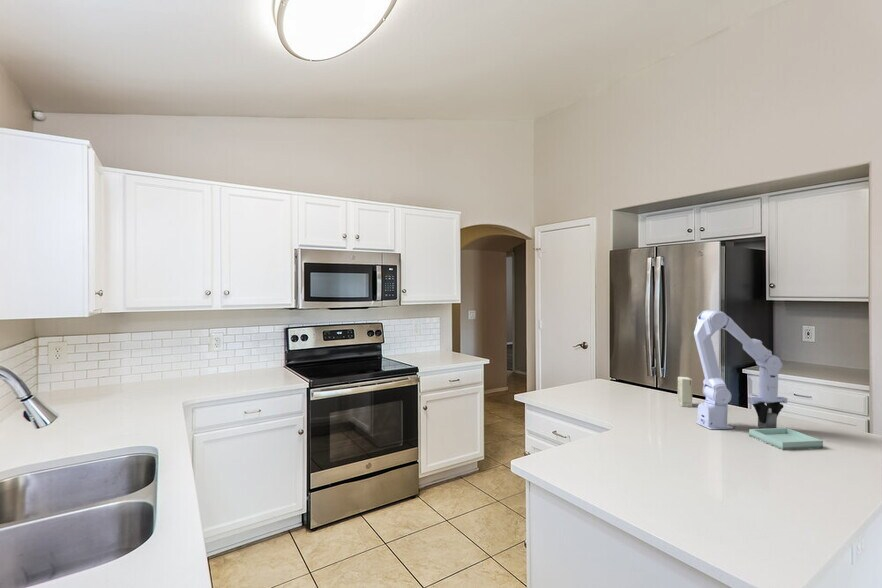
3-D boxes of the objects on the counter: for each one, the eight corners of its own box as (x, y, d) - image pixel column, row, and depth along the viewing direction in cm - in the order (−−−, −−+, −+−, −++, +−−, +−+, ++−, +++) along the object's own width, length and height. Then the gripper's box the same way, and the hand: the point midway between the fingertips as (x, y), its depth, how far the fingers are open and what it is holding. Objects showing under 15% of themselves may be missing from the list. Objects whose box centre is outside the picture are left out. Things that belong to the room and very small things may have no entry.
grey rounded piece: (770, 431, 160) (771, 410, 159) (755, 425, 166) (755, 405, 166) (778, 430, 160) (779, 410, 160) (763, 425, 167) (764, 405, 166)
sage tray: (782, 450, 142) (782, 442, 142) (749, 436, 155) (749, 429, 155) (822, 448, 144) (822, 440, 144) (786, 434, 157) (786, 427, 157)
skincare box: (692, 407, 191) (693, 379, 191) (681, 406, 192) (682, 379, 192) (687, 403, 197) (687, 376, 197) (676, 402, 198) (677, 376, 198)
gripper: (775, 383, 168) (774, 418, 168) (742, 384, 166) (741, 419, 166) (792, 387, 161) (791, 424, 161) (757, 388, 159) (756, 425, 159)
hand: (767, 422), depth 163 cm, fingers closed on grey rounded piece, 3 cm apart
